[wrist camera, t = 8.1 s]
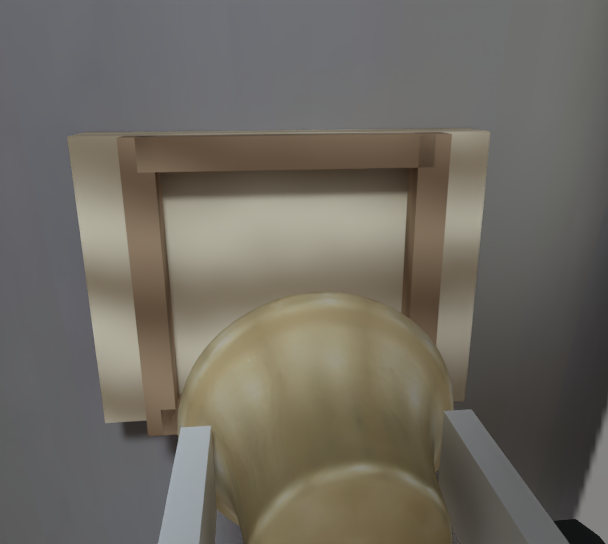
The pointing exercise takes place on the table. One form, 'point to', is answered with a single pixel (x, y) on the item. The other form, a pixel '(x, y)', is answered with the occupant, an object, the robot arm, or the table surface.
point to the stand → (268, 240)
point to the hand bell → (324, 423)
